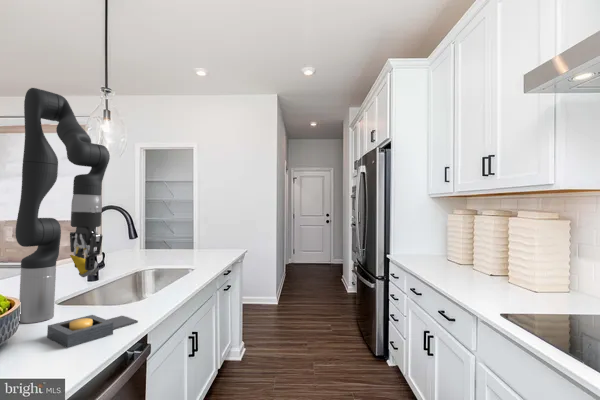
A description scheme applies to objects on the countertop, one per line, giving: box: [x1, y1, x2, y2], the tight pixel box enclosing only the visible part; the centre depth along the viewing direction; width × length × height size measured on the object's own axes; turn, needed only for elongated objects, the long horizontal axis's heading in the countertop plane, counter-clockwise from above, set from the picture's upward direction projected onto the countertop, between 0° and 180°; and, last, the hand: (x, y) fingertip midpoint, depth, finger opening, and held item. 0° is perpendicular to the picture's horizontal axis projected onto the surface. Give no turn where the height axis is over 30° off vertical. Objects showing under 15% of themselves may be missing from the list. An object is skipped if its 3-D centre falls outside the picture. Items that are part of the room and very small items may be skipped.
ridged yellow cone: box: [69, 254, 100, 278], centre depth 97 cm, size 5×5×10 cm
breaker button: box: [69, 318, 93, 331], centre depth 96 cm, size 6×6×2 cm
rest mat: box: [106, 315, 139, 331], centre depth 107 cm, size 9×9×1 cm
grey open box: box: [46, 314, 114, 349], centre depth 96 cm, size 12×12×4 cm
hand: (84, 268), depth 97 cm, fingers closed on ridged yellow cone, 5 cm apart
